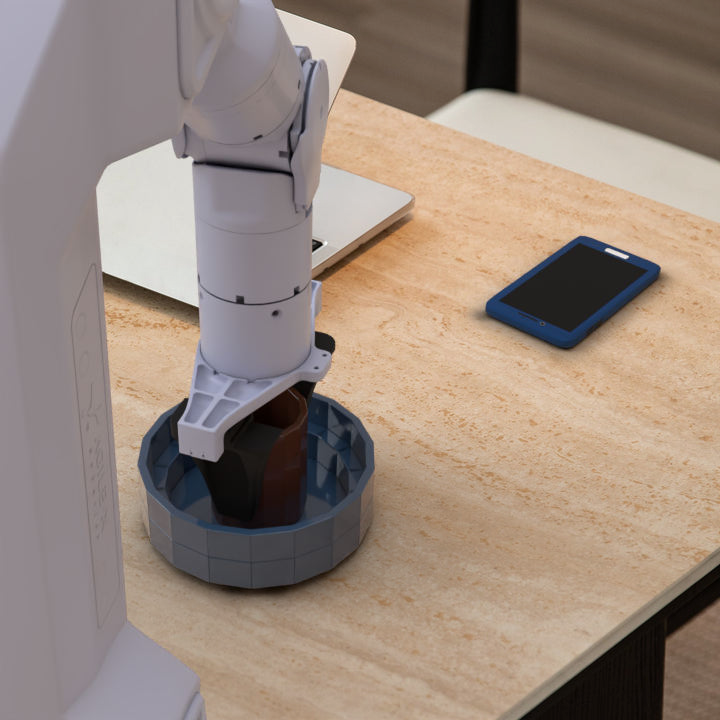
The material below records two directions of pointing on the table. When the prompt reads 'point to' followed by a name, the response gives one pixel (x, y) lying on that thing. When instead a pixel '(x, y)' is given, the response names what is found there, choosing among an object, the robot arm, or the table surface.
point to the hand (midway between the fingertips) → (258, 479)
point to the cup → (280, 465)
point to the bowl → (265, 545)
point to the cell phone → (572, 291)
